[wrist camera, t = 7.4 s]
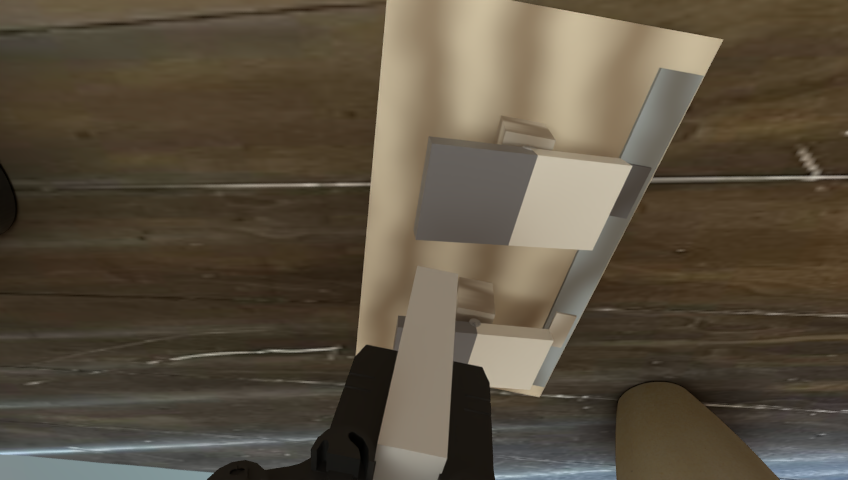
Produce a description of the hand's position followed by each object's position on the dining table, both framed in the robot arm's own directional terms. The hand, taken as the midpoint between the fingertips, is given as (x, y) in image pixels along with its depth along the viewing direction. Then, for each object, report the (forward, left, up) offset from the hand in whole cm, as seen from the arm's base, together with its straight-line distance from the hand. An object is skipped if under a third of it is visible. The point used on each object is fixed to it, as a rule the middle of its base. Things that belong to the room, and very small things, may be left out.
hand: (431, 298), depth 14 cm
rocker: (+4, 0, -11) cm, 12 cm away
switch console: (+4, -7, -18) cm, 20 cm away
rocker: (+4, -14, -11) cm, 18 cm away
